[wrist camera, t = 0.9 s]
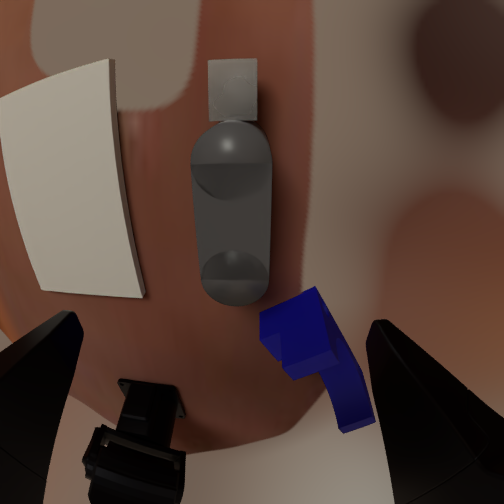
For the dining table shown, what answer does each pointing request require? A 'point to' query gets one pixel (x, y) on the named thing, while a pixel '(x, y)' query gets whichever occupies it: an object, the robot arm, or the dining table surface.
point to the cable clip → (318, 354)
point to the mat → (71, 182)
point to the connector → (233, 188)
